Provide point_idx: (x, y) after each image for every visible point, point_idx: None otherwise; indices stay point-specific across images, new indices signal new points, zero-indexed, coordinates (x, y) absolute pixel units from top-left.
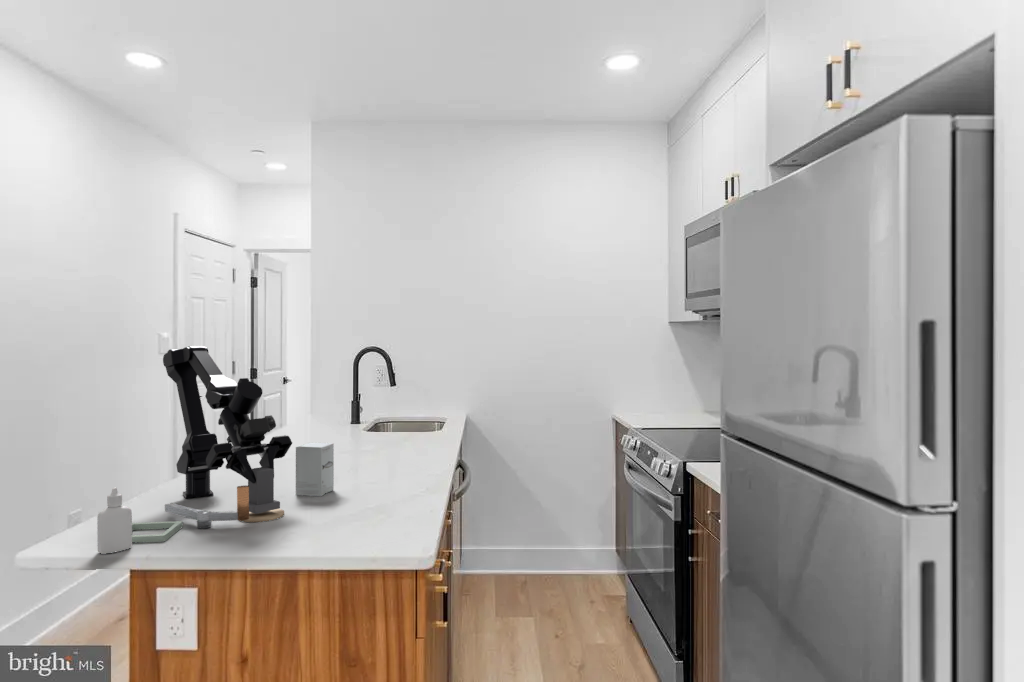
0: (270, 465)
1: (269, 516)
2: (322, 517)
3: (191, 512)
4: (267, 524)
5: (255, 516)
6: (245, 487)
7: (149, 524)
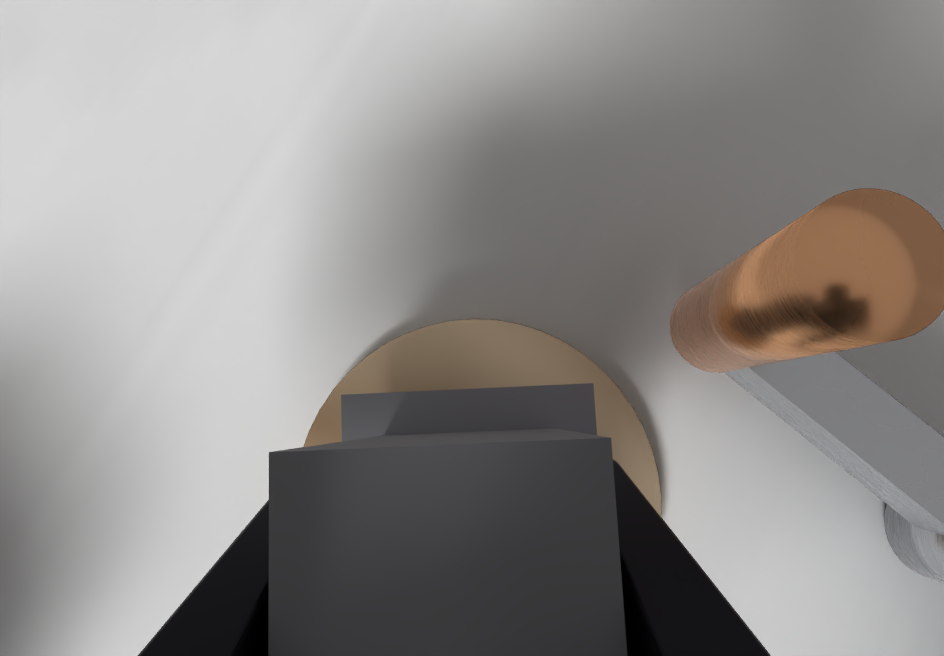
0: (215, 648)
1: (470, 367)
2: (187, 133)
3: None
4: (548, 250)
5: None
6: (865, 197)
7: None
